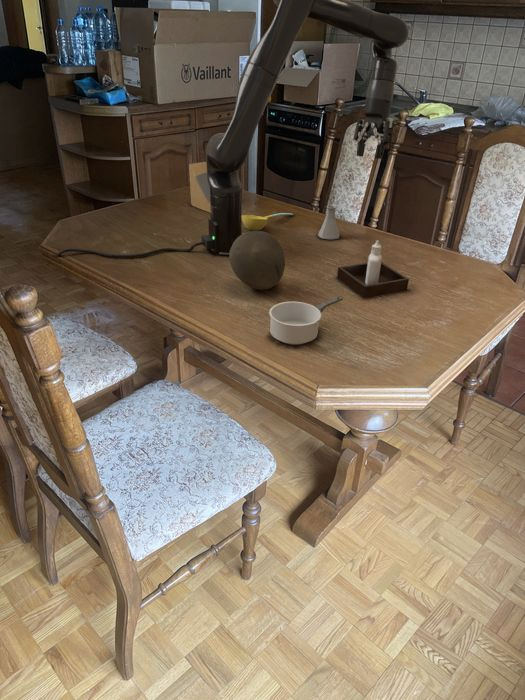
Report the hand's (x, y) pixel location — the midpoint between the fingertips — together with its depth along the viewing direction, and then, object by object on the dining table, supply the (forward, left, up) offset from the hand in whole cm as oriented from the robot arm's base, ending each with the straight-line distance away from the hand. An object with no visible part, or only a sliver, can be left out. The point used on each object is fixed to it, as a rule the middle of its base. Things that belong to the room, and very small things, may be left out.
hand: (368, 157), depth 162 cm
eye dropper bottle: (-16, -31, -26) cm, 43 cm away
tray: (-16, -31, -26) cm, 43 cm away
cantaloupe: (-46, -22, -26) cm, 57 cm away
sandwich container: (-34, +48, -26) cm, 64 cm away
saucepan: (-44, -47, -26) cm, 69 cm away
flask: (-8, +6, -26) cm, 28 cm away
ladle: (-21, +24, -26) cm, 41 cm away
